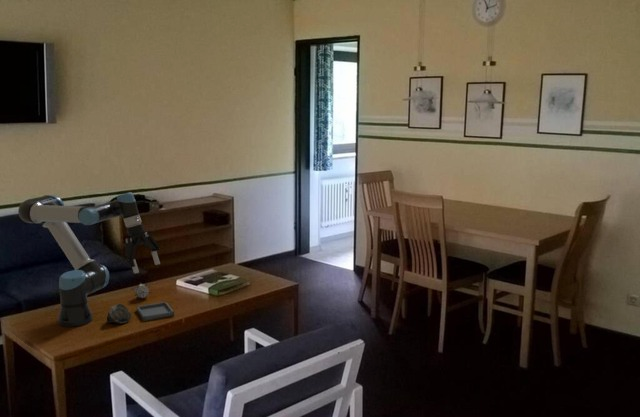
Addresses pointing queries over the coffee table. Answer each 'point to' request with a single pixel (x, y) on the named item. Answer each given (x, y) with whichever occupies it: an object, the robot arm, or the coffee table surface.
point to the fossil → (118, 314)
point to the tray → (155, 311)
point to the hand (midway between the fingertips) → (147, 268)
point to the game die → (141, 291)
